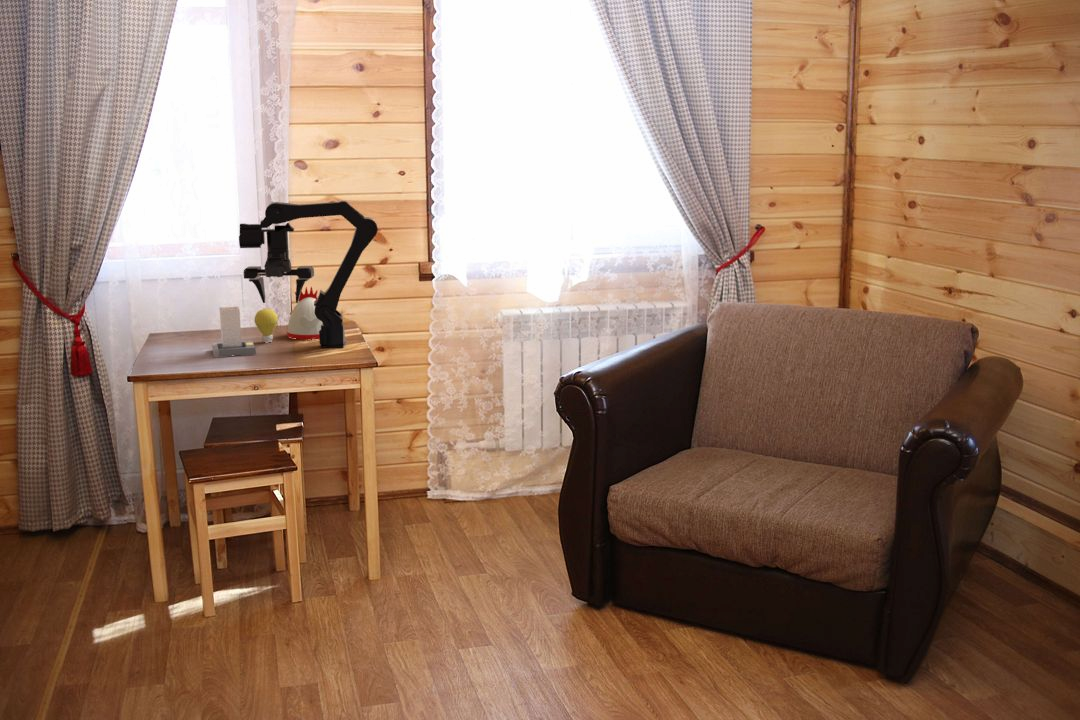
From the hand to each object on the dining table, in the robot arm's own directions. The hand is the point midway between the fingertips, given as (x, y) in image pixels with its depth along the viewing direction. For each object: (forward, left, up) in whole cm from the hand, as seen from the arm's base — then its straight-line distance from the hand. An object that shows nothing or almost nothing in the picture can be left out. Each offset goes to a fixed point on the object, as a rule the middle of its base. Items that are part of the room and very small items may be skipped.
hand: (280, 302), depth 301 cm
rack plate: (+13, +6, -13) cm, 19 cm away
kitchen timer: (-5, -18, -13) cm, 23 cm away
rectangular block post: (+13, +6, -13) cm, 19 cm away
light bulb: (+6, -8, -13) cm, 17 cm away
